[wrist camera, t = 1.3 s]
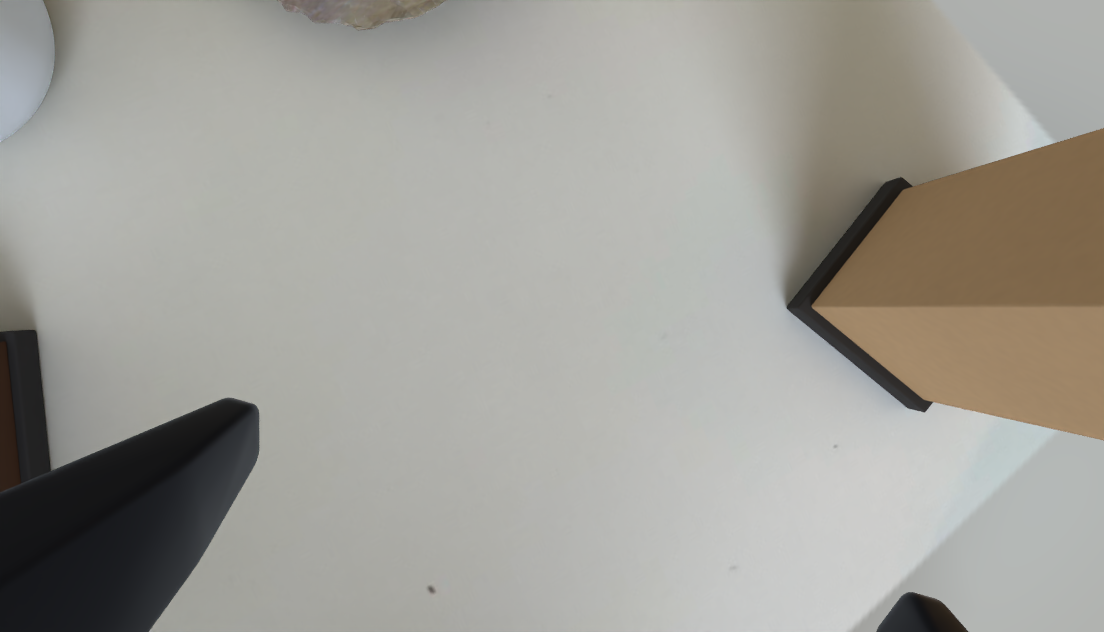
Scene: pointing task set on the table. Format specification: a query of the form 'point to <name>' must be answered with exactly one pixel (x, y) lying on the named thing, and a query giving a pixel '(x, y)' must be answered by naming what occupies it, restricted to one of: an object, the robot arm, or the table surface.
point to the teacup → (23, 61)
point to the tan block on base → (978, 289)
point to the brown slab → (21, 411)
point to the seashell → (360, 10)
